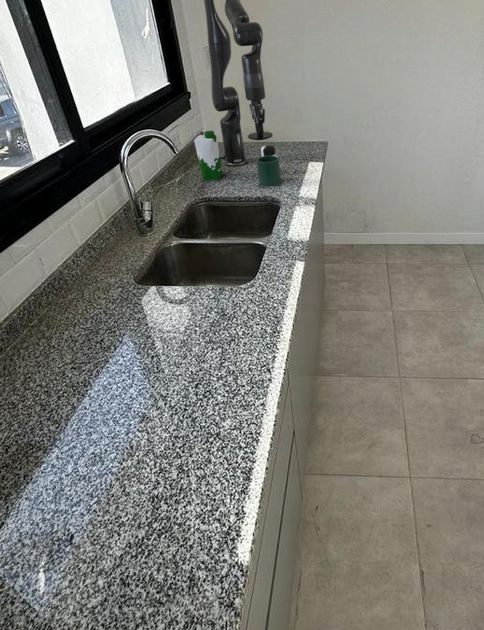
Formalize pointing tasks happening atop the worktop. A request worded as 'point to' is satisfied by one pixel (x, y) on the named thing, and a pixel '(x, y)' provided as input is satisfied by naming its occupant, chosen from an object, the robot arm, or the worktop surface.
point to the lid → (260, 135)
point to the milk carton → (208, 156)
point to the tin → (269, 170)
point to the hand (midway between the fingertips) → (259, 132)
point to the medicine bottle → (268, 151)
